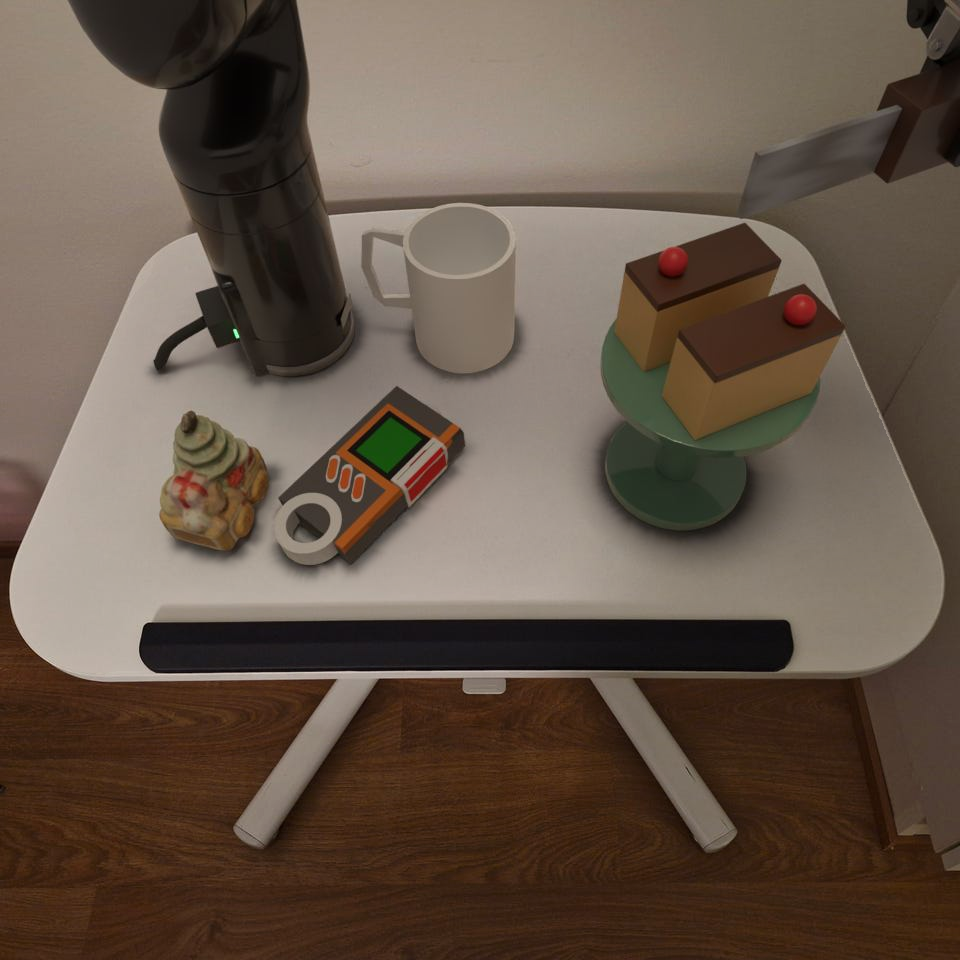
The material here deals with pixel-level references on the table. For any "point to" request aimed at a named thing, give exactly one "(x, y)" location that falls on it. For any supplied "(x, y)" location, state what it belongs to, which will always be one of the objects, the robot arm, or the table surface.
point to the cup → (455, 284)
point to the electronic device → (367, 479)
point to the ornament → (211, 485)
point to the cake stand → (680, 447)
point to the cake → (723, 329)
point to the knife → (862, 144)
